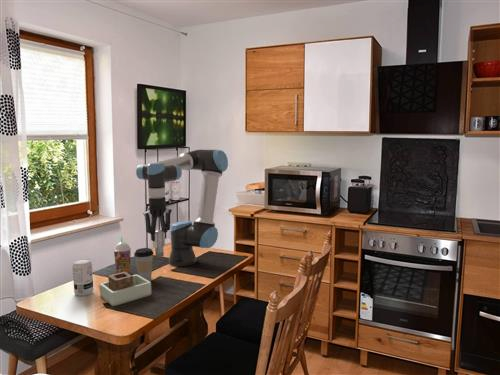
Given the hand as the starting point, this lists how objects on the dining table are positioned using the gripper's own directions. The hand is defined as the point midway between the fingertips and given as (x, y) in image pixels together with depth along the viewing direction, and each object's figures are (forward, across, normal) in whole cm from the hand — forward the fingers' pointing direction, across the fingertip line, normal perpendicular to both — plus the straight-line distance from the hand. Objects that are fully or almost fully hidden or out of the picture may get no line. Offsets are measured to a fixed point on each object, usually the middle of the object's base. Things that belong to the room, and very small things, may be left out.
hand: (159, 246), depth 192 cm
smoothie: (+21, +5, -30) cm, 37 cm away
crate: (+20, +16, -3) cm, 26 cm away
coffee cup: (+21, 0, -16) cm, 26 cm away
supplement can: (+21, +29, -19) cm, 40 cm away
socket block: (+20, +18, -3) cm, 27 cm away
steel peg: (+5, 0, 0) cm, 5 cm away
